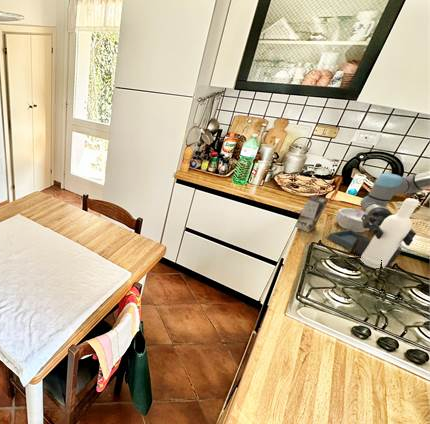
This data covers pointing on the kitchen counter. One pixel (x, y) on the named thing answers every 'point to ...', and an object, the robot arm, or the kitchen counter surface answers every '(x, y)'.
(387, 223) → the bottle
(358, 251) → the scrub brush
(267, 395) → the kitchen counter surface
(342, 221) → the paper bowls
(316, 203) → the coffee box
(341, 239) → the drying tray
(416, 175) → the robot arm
